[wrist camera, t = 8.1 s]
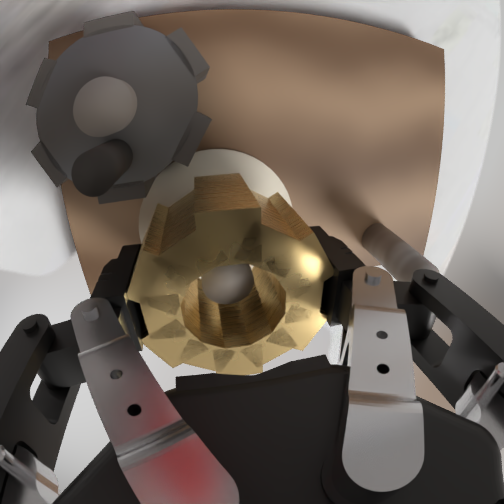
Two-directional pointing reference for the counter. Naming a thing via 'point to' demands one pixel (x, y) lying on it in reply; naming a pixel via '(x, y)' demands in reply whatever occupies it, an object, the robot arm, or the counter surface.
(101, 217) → the gear board
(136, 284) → the brass gear
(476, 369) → the robot arm
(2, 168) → the counter surface
